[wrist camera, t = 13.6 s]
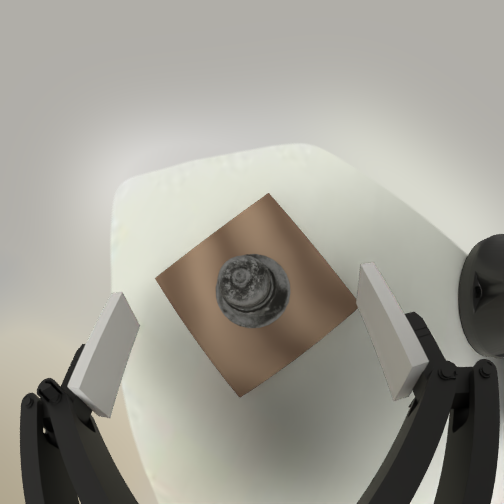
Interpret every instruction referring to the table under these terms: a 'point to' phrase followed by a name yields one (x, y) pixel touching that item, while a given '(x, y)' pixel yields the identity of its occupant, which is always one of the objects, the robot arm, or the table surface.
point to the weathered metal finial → (252, 290)
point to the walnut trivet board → (280, 331)
